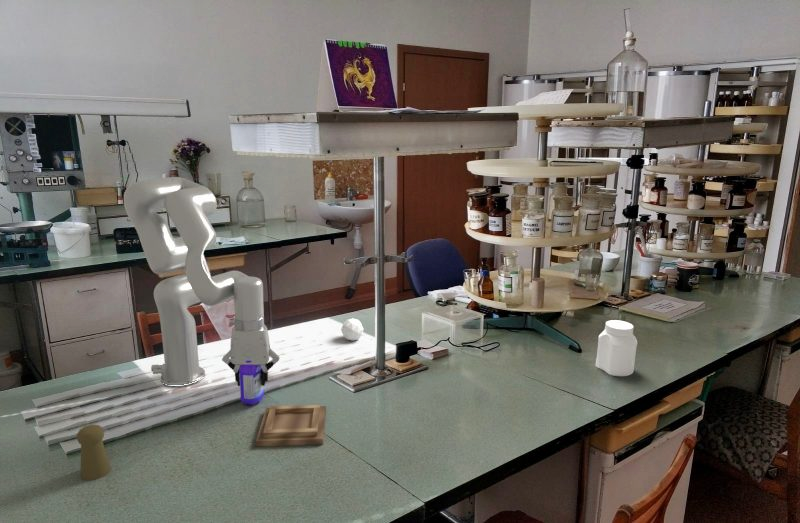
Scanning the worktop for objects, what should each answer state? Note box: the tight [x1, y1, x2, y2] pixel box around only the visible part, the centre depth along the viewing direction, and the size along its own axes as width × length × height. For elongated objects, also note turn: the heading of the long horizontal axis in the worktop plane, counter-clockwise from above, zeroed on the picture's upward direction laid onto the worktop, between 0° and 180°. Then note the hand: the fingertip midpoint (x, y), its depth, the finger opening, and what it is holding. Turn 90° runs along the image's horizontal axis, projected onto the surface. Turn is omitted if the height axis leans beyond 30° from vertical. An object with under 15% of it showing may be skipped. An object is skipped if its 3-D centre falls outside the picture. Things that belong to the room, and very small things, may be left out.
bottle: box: [239, 360, 265, 405], centre depth 156 cm, size 7×6×17 cm
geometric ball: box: [341, 317, 365, 342], centre depth 201 cm, size 8×8×8 cm
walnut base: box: [255, 404, 327, 447], centre depth 145 cm, size 16×16×3 cm
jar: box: [595, 319, 638, 377], centre depth 180 cm, size 12×10×15 cm
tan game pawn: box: [76, 424, 112, 481], centre depth 125 cm, size 6×6×11 cm
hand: (251, 383), depth 157 cm, fingers closed on bottle, 5 cm apart
